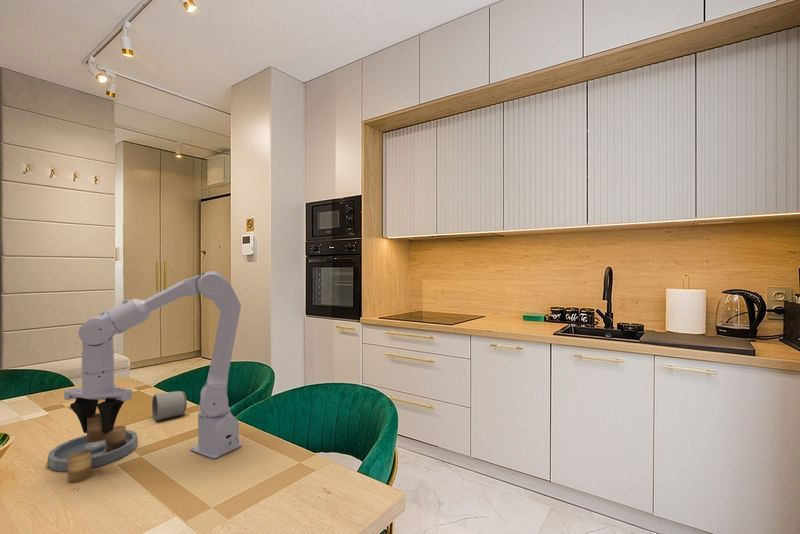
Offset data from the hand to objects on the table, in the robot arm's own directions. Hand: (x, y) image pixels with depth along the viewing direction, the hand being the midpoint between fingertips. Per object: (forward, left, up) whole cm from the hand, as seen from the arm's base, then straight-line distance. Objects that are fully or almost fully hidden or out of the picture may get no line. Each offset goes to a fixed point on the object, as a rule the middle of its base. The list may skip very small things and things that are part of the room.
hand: (98, 431), depth 88 cm
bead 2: (0, 0, -2) cm, 2 cm away
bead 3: (+6, -6, -8) cm, 11 cm away
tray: (+10, -3, -9) cm, 13 cm away
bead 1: (0, +4, -9) cm, 9 cm away
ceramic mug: (+19, -26, -9) cm, 33 cm away
